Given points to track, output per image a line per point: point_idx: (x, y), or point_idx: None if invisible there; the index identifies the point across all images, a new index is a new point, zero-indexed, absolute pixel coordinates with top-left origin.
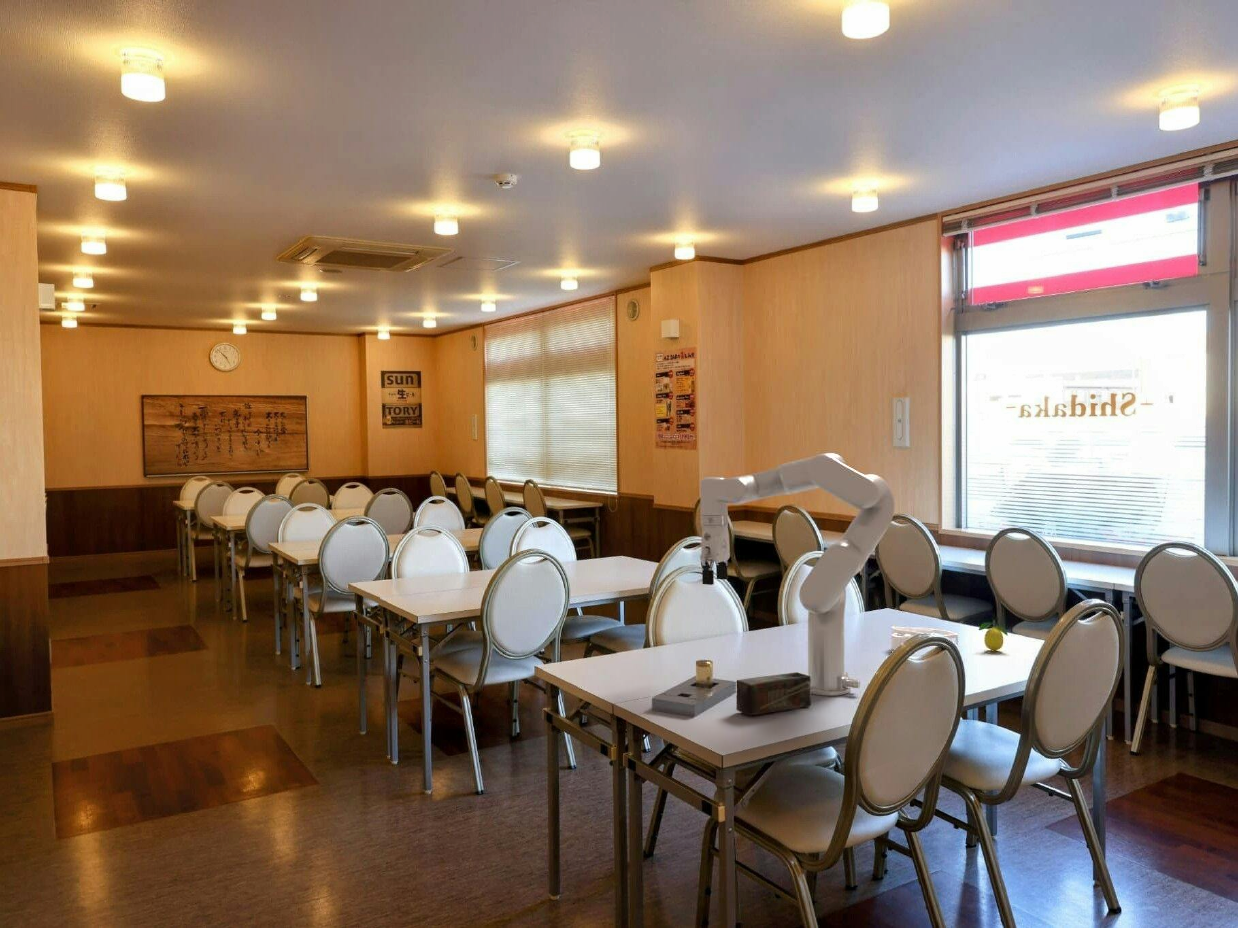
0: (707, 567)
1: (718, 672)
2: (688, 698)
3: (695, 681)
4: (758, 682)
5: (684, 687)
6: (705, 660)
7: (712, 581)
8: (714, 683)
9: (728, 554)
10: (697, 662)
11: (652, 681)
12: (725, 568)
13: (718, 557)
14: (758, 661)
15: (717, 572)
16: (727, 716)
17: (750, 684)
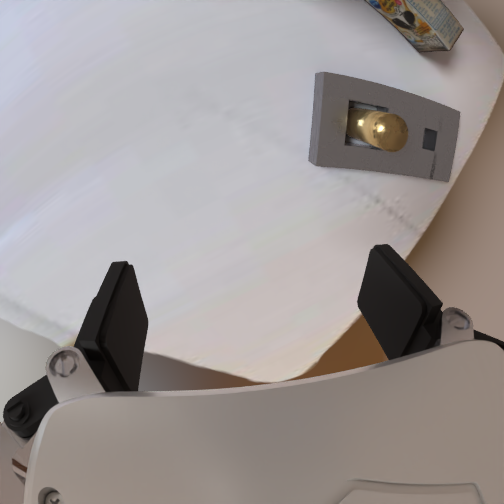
0: (477, 332)
1: (181, 167)
2: (440, 128)
3: (354, 149)
4: (451, 14)
5: (394, 154)
6: (381, 134)
7: (395, 255)
8: (346, 111)
9: (99, 459)
10: (400, 146)
11: (304, 246)
12: (112, 327)
13: (500, 376)
14: (59, 143)
15: (141, 350)
16: (432, 64)
17: (461, 27)
